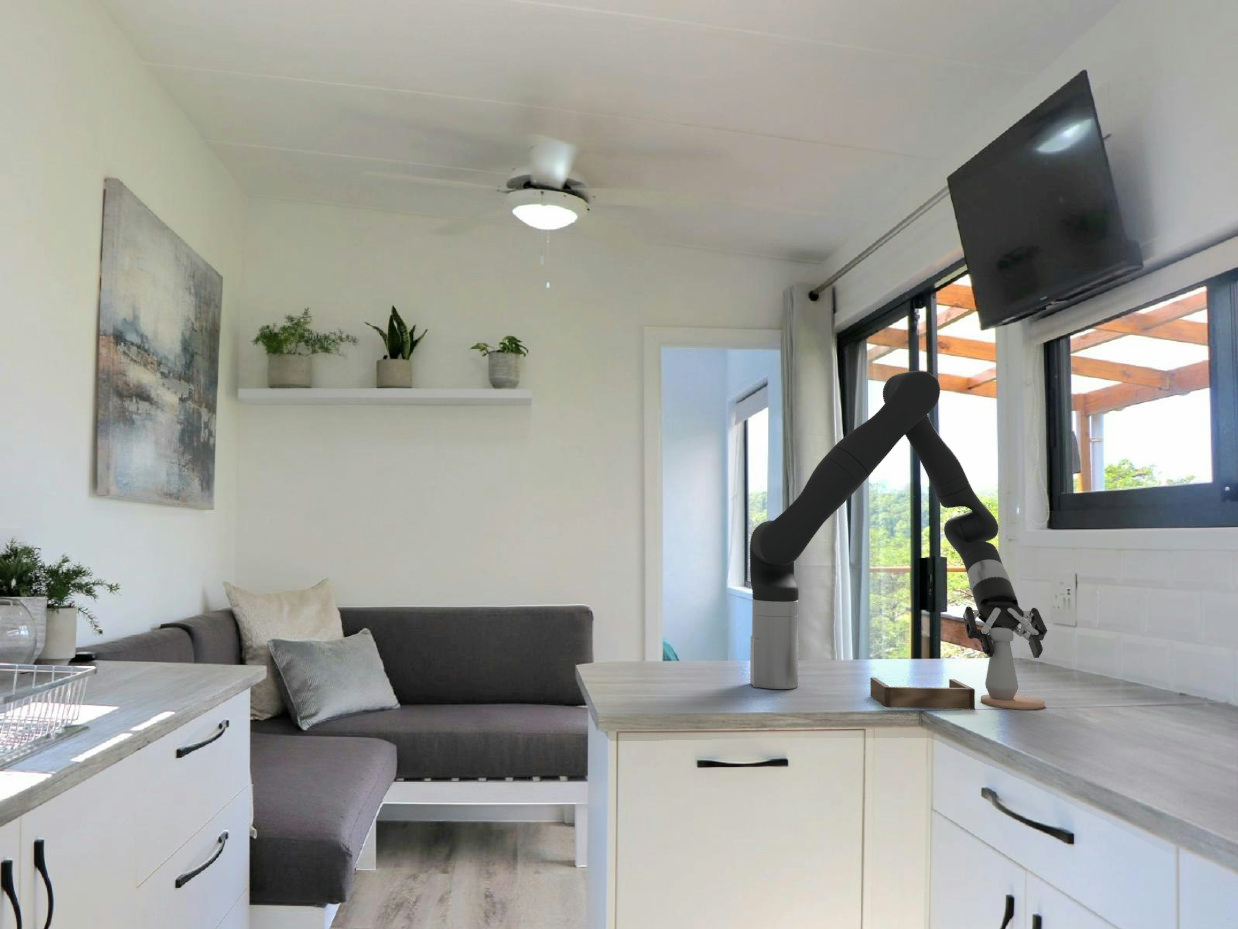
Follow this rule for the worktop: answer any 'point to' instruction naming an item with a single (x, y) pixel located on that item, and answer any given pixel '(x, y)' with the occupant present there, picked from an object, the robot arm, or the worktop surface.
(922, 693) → the tray
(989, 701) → the trivet
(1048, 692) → the worktop surface
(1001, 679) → the salt shaker
